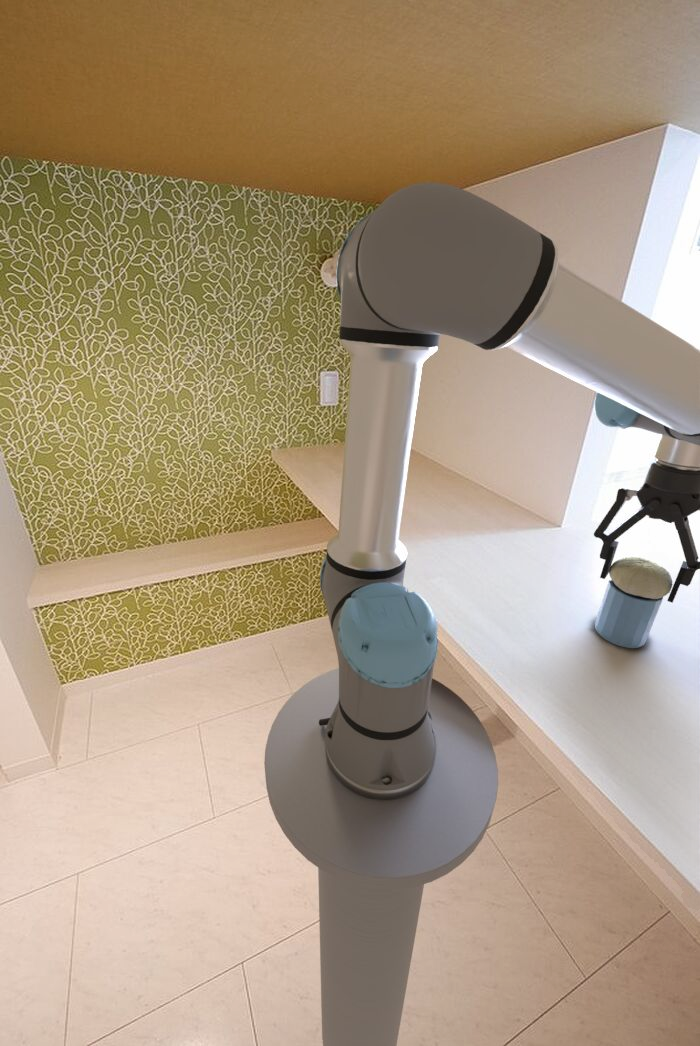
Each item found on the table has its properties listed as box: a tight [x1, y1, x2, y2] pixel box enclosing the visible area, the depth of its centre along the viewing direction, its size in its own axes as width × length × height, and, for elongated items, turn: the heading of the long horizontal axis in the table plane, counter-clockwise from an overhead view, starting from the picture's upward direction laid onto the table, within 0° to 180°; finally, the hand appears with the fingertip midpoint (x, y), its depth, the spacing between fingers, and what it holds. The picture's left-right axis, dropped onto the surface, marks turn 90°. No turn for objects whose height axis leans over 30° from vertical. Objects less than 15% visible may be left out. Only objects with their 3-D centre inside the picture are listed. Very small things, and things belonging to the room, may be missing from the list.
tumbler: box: [594, 577, 665, 649], centre depth 78 cm, size 8×8×10 cm
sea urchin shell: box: [608, 556, 674, 599], centre depth 75 cm, size 9×8×8 cm
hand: (636, 586), depth 76 cm, fingers open, 10 cm apart
